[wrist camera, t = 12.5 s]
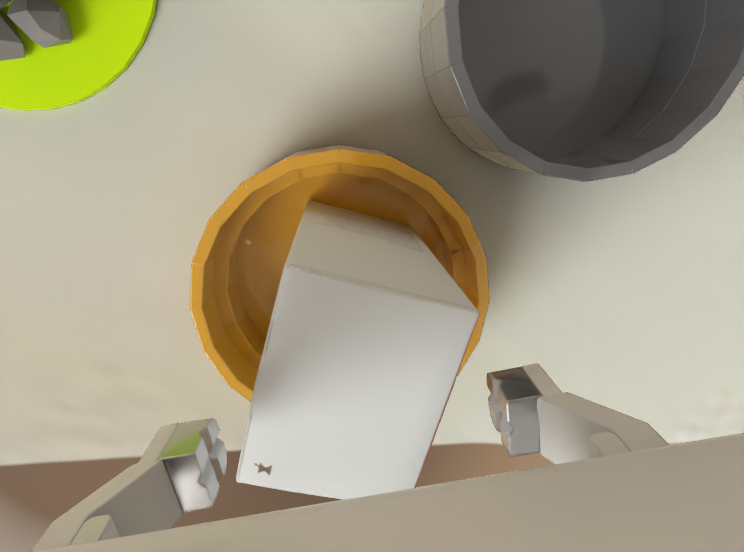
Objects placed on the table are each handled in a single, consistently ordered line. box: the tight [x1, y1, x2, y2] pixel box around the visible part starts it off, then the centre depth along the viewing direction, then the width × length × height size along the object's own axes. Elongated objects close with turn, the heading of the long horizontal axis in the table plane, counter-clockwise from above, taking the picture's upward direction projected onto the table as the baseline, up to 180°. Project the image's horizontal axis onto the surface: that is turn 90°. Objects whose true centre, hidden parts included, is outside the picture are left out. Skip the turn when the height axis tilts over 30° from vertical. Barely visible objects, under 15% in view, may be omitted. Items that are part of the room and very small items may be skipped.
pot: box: [419, 0, 744, 182], centre depth 21 cm, size 14×14×6 cm
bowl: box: [190, 145, 490, 402], centre depth 25 cm, size 15×15×5 cm
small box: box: [236, 200, 480, 500], centre depth 21 cm, size 8×6×13 cm
